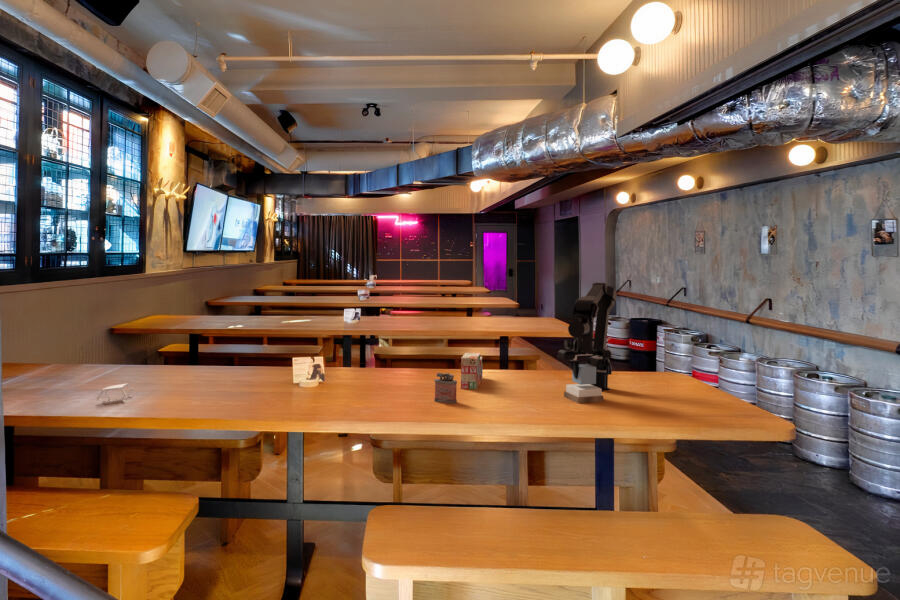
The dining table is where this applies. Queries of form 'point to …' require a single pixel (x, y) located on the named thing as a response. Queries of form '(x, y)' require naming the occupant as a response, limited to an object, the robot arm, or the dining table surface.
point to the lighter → (445, 388)
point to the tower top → (583, 390)
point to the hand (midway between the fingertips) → (583, 378)
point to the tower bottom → (583, 398)
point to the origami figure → (115, 389)
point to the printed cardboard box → (471, 370)
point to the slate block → (585, 374)
